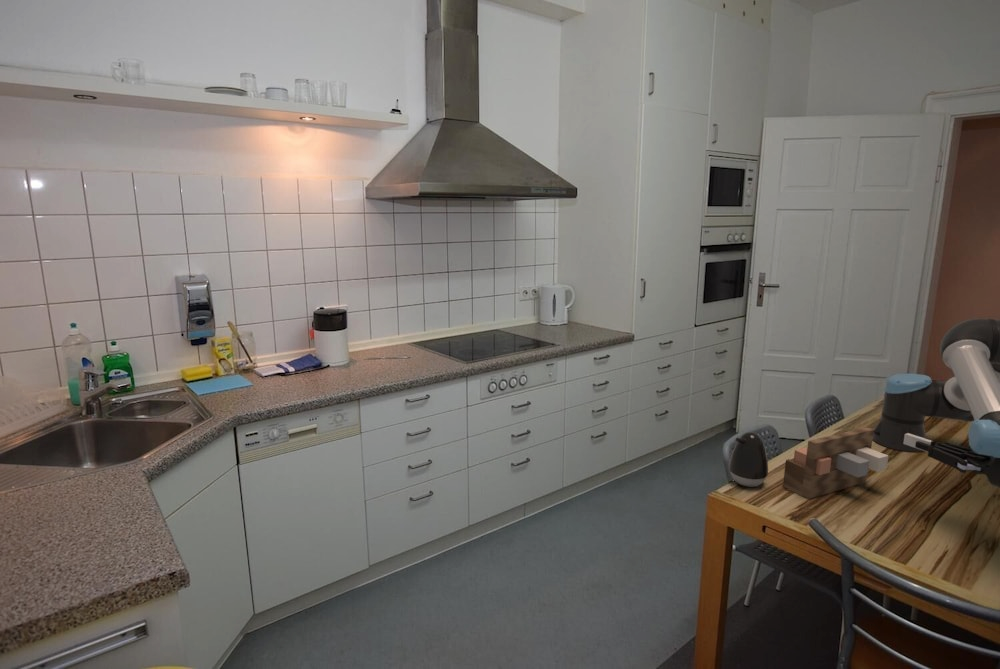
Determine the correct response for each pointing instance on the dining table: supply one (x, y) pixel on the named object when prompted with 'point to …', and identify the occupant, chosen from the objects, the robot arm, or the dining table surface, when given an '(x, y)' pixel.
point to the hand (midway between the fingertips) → (905, 438)
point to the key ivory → (873, 458)
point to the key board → (816, 485)
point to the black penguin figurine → (749, 460)
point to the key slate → (852, 464)
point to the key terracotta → (821, 464)
